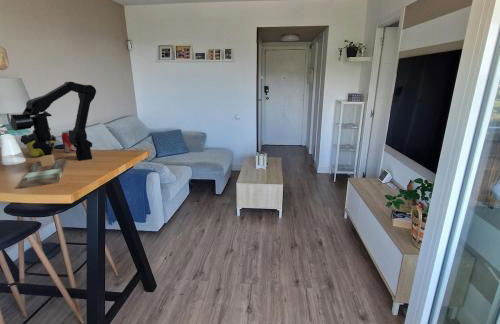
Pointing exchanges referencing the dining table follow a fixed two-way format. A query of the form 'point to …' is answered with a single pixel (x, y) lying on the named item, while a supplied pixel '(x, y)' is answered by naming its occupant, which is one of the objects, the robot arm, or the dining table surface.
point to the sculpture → (35, 151)
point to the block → (47, 160)
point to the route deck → (44, 174)
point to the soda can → (67, 143)
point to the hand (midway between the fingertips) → (49, 159)
